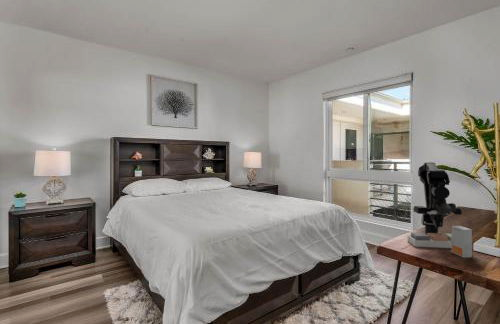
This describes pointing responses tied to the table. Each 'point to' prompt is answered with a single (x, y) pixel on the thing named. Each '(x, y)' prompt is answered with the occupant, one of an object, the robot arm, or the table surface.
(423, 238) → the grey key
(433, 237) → the terracotta key
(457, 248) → the skincare box
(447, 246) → the light grey divided tray
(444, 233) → the sage key
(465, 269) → the table surface
